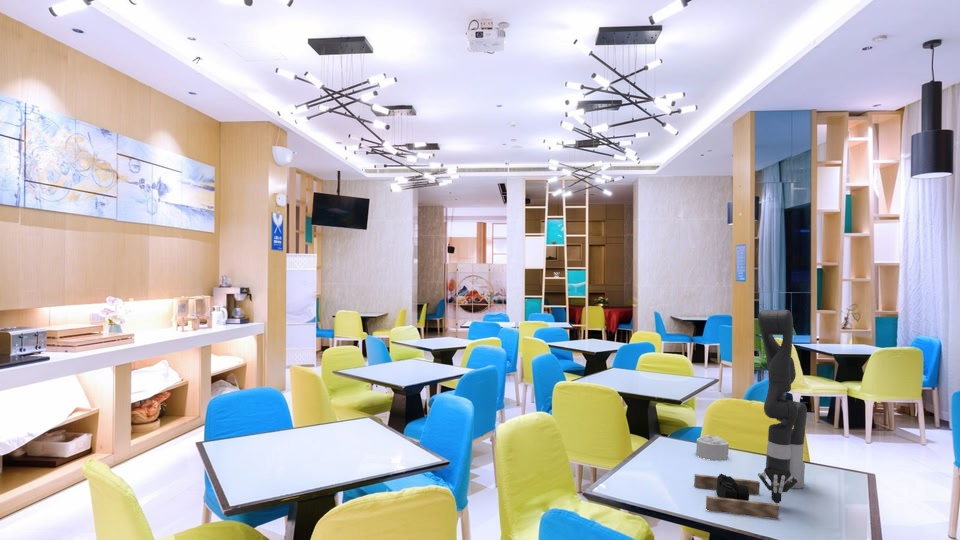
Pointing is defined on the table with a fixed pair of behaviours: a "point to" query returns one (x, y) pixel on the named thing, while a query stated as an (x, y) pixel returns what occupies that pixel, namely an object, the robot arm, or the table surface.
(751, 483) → the walnut chute
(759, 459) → the table surface
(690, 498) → the table surface
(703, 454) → the lumpy-topped squat cylinder
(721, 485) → the film camera
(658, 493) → the table surface
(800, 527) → the table surface
